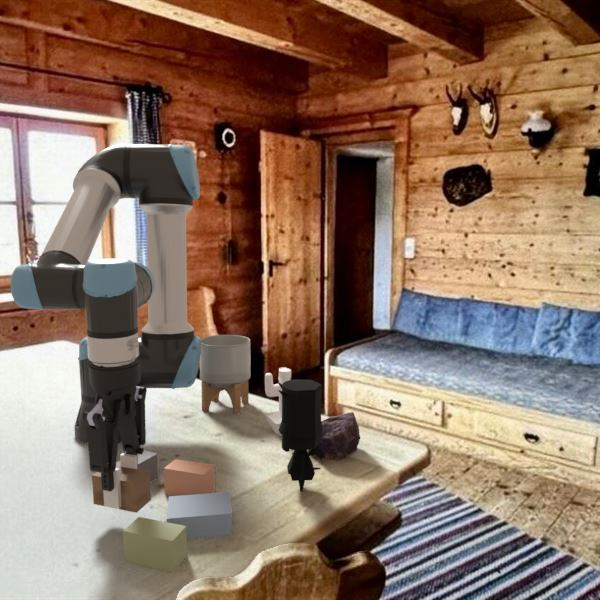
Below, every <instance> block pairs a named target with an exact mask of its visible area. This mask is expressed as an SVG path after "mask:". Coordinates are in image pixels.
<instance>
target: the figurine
mask: <svg viewBox="0 0 600 600" xmlns="http://www.w3.org/2000/svg"><path fill="white" fill-rule="evenodd" d="M273 376H274V375H273V374H272V373H271V372H266V373H265V374H264V391H265V395H266V397H268V398H275V397H278V411H273V412H271V411H270V412H267V413H266V412H265V413H264V416H265V418H266V420H267V423H268V424H269V426H270V428H271V431H273V432H274V433H276V435H277V436H278V437H282V434H280V432H279V431H278V430H279V427H280V424H281V421H282V395H281V393H280V392H279V391H278V390H280V391H282V388H281V387H280V385H279V384H278V383H275V384H274V377H273ZM277 379H278V380H277V381H278V382H279V383H281V384H283V383H284V382H286V381H289V380H292V369H291V368H288V367H286V366H285V367H284V366H283V367H279V368H278V377H277Z"/></svg>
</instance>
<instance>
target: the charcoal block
mask: <svg viewBox="0 0 600 600" xmlns="http://www.w3.org/2000/svg"><path fill="white" fill-rule="evenodd" d="M137 455H138V470H144V471H150V483H152V482H154V481H156V480H157V479H159V458H158V457H159V455H158V453H157V452H153V451H149V450H145V449H144V451H143V453H142V454H137ZM116 466H121V465H120V460H119V461H116Z"/></svg>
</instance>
